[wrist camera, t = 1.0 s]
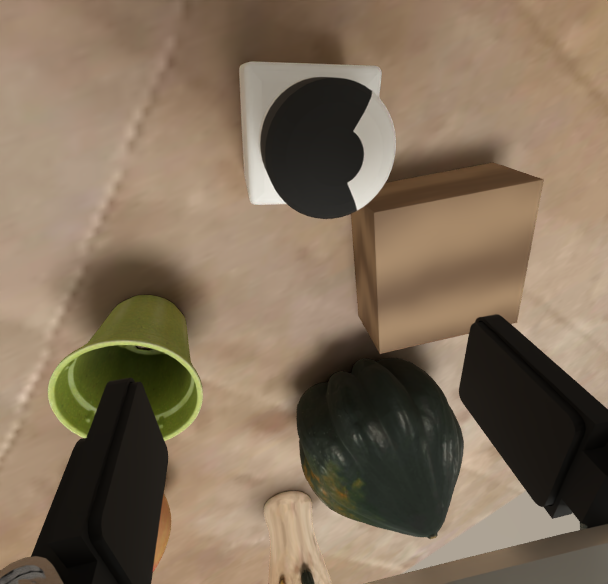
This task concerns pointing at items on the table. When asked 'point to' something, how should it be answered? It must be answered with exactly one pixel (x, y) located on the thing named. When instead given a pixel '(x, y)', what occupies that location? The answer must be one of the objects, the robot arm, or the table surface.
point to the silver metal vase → (293, 541)
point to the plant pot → (131, 367)
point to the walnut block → (443, 253)
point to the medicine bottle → (314, 136)
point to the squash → (382, 446)
